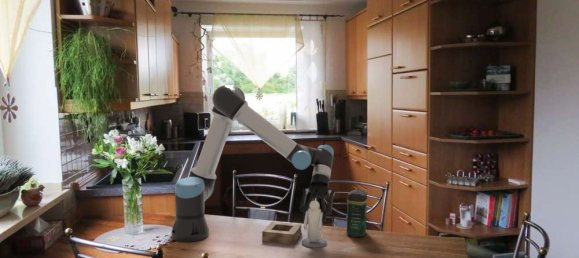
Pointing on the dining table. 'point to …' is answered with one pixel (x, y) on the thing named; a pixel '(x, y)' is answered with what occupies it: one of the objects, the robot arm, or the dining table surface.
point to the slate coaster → (314, 243)
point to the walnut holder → (281, 232)
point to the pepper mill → (314, 221)
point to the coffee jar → (356, 213)
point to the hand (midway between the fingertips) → (312, 228)
